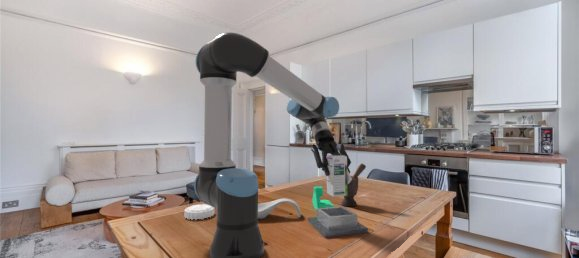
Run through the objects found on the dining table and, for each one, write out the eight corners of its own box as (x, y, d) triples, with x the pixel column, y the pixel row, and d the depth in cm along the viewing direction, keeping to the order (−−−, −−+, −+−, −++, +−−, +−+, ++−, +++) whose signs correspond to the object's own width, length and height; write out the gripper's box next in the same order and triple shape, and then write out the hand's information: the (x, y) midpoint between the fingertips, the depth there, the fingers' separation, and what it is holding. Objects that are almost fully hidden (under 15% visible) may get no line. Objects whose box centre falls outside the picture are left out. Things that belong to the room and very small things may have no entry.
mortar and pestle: (361, 202, 126) (361, 161, 126) (367, 207, 117) (367, 163, 117) (338, 202, 126) (338, 161, 126) (342, 207, 117) (342, 164, 117)
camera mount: (335, 213, 110) (334, 189, 110) (317, 213, 109) (317, 189, 109) (328, 205, 122) (328, 183, 122) (312, 205, 121) (312, 184, 121)
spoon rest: (241, 222, 99) (241, 203, 99) (245, 212, 111) (245, 196, 111) (301, 221, 100) (301, 202, 100) (299, 211, 112) (299, 195, 112)
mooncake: (180, 215, 107) (180, 206, 107) (207, 209, 115) (207, 201, 115) (190, 222, 98) (190, 213, 98) (219, 216, 106) (219, 207, 106)
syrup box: (333, 197, 90) (332, 156, 90) (326, 193, 96) (326, 154, 96) (347, 196, 92) (347, 155, 92) (340, 192, 97) (340, 154, 98)
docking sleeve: (325, 237, 83) (324, 221, 84) (308, 221, 99) (308, 207, 99) (367, 232, 88) (367, 216, 88) (345, 217, 103) (345, 204, 103)
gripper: (340, 141, 111) (360, 186, 95) (299, 141, 106) (314, 189, 90) (346, 128, 106) (368, 174, 90) (303, 128, 101) (319, 177, 85)
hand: (341, 181), depth 90 cm, fingers closed on syrup box, 6 cm apart
